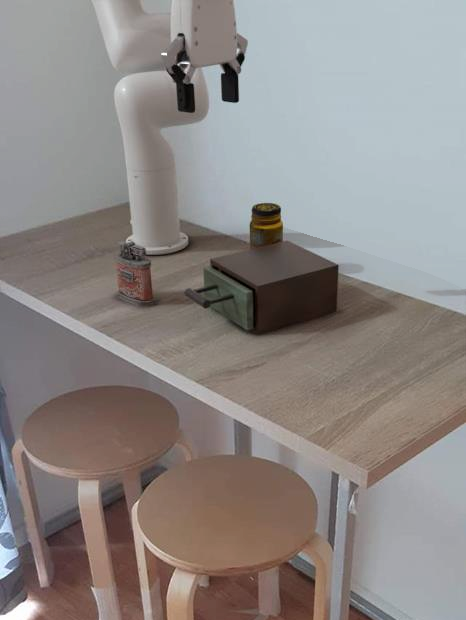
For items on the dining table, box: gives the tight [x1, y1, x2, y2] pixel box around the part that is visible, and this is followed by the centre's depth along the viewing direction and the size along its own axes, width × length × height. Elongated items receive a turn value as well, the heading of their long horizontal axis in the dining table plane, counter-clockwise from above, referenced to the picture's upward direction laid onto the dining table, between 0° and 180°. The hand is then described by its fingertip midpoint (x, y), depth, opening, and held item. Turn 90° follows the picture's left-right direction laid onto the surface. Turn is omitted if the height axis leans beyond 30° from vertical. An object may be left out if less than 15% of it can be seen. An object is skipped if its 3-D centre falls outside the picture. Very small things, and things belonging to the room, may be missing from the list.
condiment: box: [249, 202, 284, 250], centre depth 149 cm, size 7×8×12 cm
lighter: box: [113, 241, 155, 307], centre depth 141 cm, size 8×3×10 cm, turn 47°
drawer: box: [184, 265, 256, 331], centre depth 135 cm, size 20×13×6 cm, turn 122°
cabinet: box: [209, 240, 340, 335], centre depth 137 cm, size 16×15×8 cm
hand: (209, 106), depth 127 cm, fingers open, 9 cm apart
